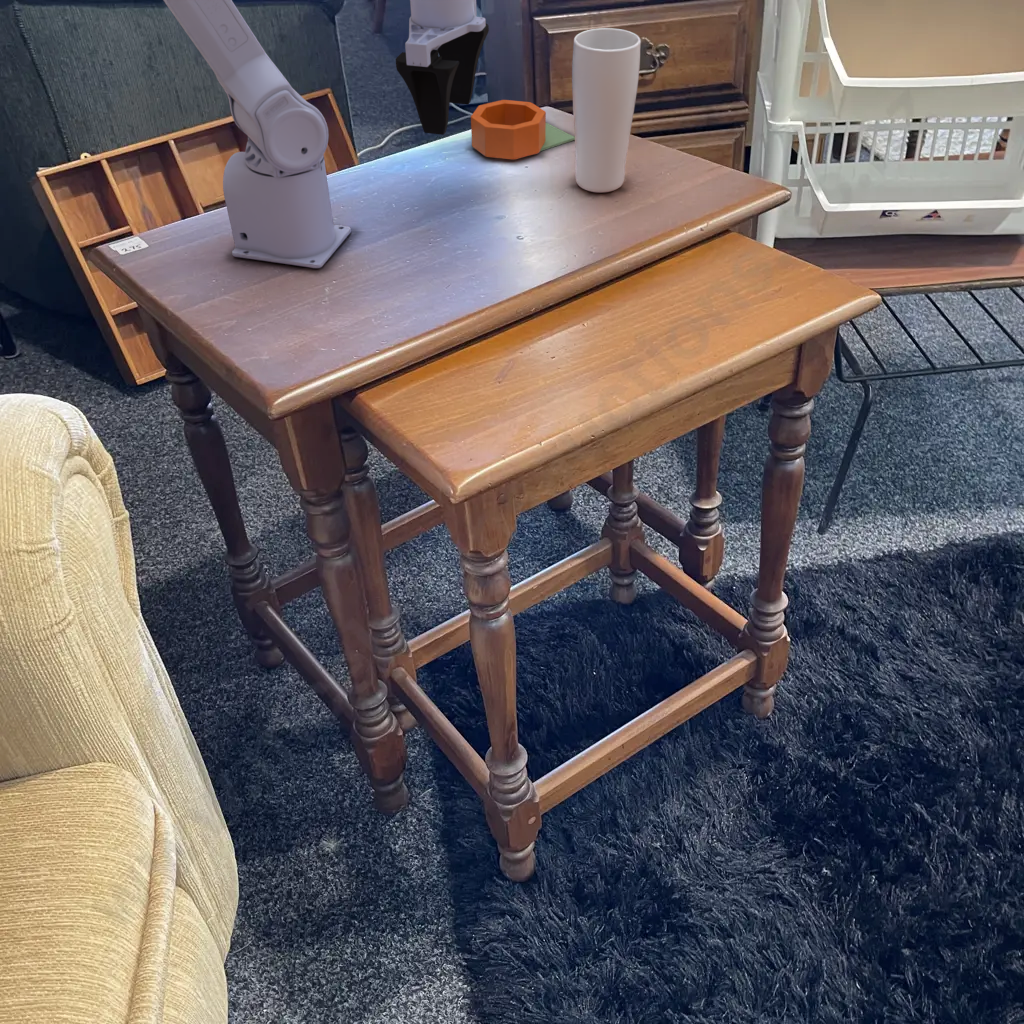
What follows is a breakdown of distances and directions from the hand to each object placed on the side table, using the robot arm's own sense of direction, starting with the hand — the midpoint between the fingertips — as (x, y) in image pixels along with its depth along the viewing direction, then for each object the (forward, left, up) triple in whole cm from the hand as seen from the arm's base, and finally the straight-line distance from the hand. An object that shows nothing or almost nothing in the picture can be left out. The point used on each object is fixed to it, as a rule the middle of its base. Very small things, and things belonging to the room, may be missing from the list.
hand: (447, 117), depth 98 cm
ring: (+2, +16, -9) cm, 18 cm away
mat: (+3, +19, -9) cm, 21 cm away
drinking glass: (+14, +9, -10) cm, 19 cm away
